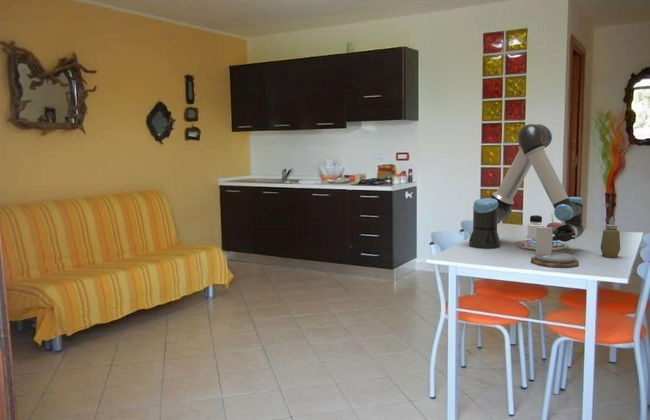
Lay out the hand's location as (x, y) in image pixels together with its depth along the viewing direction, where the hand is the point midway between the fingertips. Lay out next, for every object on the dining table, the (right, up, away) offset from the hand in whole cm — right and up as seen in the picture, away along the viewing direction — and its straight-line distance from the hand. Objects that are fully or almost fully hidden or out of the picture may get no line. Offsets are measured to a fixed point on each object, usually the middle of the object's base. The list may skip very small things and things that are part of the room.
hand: (548, 239), depth 240 cm
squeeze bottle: (+33, -8, +12) cm, 36 cm away
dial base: (+2, -10, -1) cm, 10 cm away
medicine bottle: (+18, -2, +63) cm, 65 cm away
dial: (+2, -8, -1) cm, 9 cm away
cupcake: (+32, -1, +71) cm, 78 cm away
